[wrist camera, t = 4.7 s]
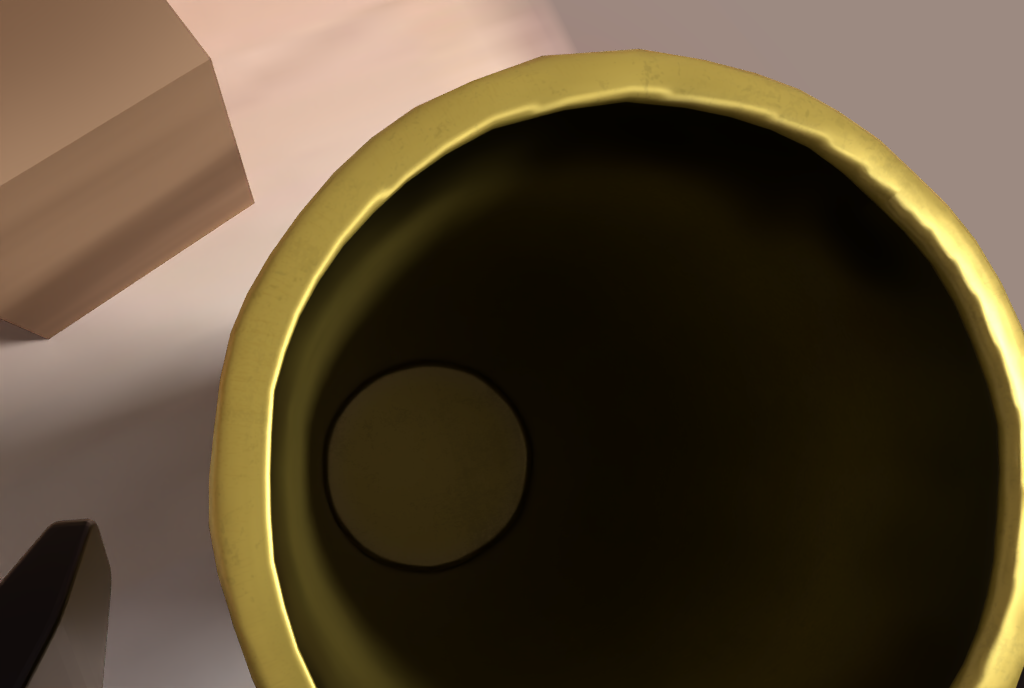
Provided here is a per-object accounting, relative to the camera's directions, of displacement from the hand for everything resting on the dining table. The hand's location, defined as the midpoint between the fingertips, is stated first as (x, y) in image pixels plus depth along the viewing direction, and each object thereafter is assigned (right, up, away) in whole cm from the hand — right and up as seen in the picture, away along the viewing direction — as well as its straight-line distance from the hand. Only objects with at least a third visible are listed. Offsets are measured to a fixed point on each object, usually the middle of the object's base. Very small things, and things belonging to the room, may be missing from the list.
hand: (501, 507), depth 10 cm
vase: (-2, -1, +9) cm, 9 cm away
